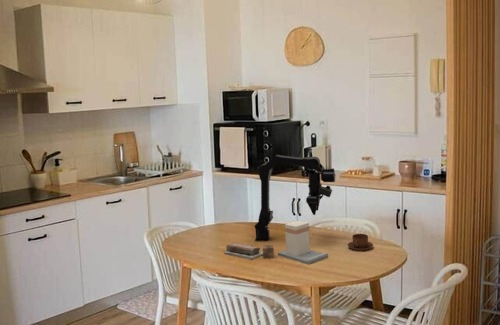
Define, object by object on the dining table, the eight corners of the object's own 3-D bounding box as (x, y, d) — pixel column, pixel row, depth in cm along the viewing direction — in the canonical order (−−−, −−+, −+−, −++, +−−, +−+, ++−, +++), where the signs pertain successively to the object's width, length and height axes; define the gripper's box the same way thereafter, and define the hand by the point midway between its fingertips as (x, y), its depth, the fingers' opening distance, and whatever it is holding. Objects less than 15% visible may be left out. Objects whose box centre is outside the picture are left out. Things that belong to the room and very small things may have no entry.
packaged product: (222, 245, 277) (236, 240, 284) (223, 254, 277) (236, 249, 285) (251, 250, 265) (264, 245, 273) (252, 260, 266) (265, 255, 273)
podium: (278, 255, 271) (277, 250, 271) (297, 248, 279) (297, 244, 279) (308, 264, 256) (308, 259, 255) (328, 257, 264) (328, 252, 264)
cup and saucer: (373, 252, 268) (373, 239, 268) (347, 252, 271) (347, 239, 270) (373, 244, 280) (372, 232, 279) (348, 244, 283) (347, 232, 282)
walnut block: (263, 258, 267) (262, 248, 266) (263, 255, 272) (262, 245, 271) (274, 258, 267) (273, 247, 266) (273, 254, 272) (273, 244, 271)
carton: (286, 253, 270) (285, 224, 268) (299, 248, 275) (298, 220, 273) (296, 256, 264) (295, 226, 262) (309, 251, 270) (308, 222, 268)
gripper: (328, 185, 275) (329, 217, 278) (332, 178, 293) (333, 208, 295) (305, 185, 278) (306, 217, 281) (311, 178, 296) (312, 208, 298)
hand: (315, 212), depth 289 cm, fingers open, 9 cm apart
